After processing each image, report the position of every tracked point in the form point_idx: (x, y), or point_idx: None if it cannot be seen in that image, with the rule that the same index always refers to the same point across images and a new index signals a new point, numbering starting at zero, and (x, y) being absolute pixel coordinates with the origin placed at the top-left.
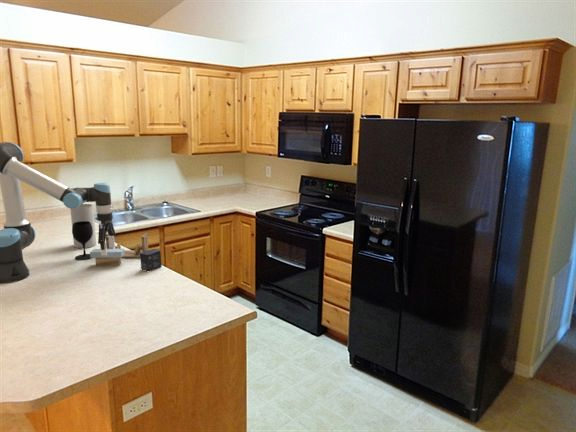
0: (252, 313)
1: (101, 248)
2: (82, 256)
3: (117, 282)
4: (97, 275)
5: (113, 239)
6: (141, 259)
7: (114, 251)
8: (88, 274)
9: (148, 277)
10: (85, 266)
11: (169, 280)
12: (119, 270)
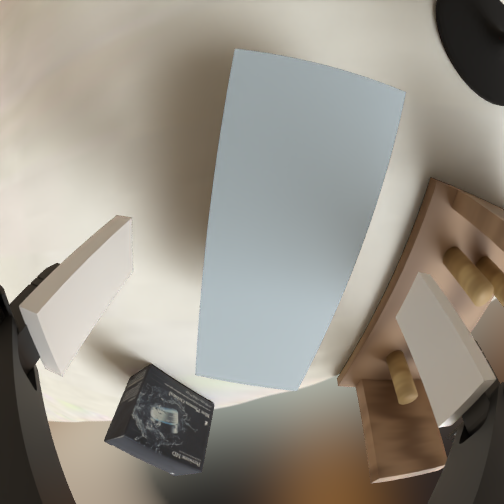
0: None
1: (44, 276)
2: (482, 22)
3: (16, 274)
4: (66, 167)
5: (427, 386)
6: (130, 409)
7: (218, 334)
8: (84, 103)
9: (79, 367)
10: (271, 28)
11: (74, 398)
12: (141, 280)
